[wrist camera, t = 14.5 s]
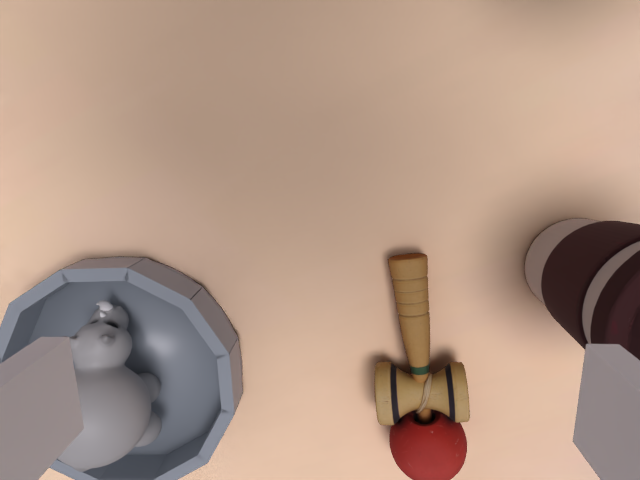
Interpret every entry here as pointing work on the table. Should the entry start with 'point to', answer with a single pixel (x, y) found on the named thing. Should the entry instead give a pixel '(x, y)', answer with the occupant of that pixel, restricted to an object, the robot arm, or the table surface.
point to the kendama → (421, 387)
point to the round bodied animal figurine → (109, 393)
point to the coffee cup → (590, 280)
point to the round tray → (145, 354)
